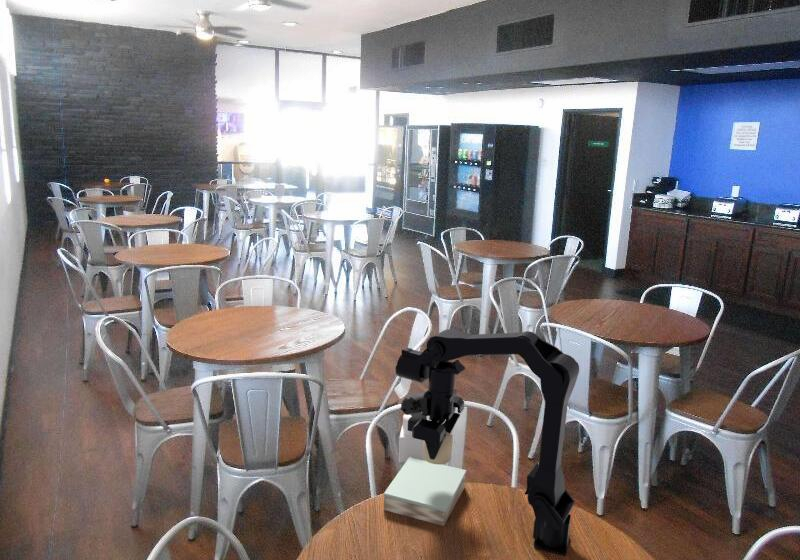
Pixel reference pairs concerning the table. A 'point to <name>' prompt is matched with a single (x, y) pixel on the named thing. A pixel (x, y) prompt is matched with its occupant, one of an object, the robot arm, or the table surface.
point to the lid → (426, 484)
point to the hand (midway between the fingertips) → (437, 451)
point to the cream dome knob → (440, 451)
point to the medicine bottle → (410, 439)
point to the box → (422, 508)
